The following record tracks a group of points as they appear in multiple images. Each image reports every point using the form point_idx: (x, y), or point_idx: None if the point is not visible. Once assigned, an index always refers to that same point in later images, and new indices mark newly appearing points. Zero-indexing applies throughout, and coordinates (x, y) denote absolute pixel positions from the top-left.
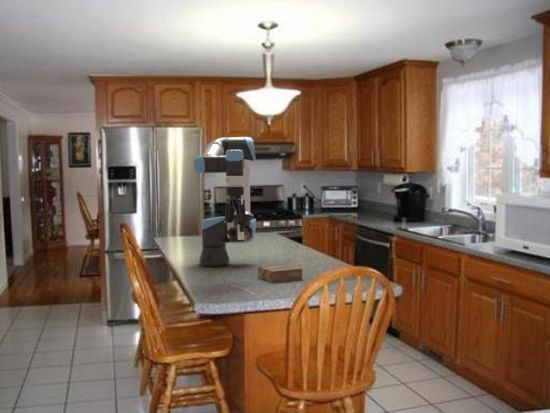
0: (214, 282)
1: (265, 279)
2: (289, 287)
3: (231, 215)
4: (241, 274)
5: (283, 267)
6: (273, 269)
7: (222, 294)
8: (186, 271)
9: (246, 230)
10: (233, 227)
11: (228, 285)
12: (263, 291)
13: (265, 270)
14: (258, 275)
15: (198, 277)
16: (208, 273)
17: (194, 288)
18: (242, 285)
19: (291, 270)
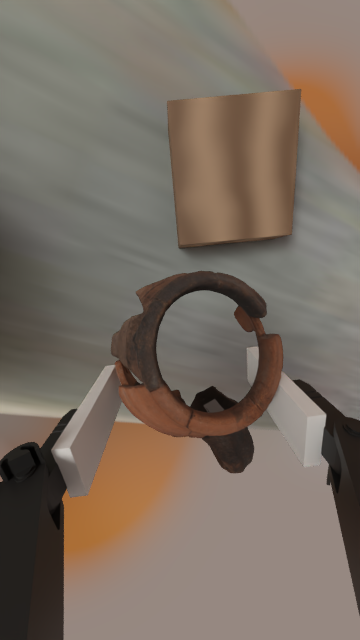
0: (193, 371)
1: (225, 243)
2: (356, 223)
3: (50, 600)
4: (107, 277)
5: (233, 155)
6: (254, 213)
7: (324, 386)
8: (8, 396)
9: (279, 354)
10: (176, 436)
11: (244, 353)
12: (353, 303)
13: (234, 240)
14: (179, 247)
15: None
16: (58, 355)
17: None
18: (262, 324)
19: (295, 151)
